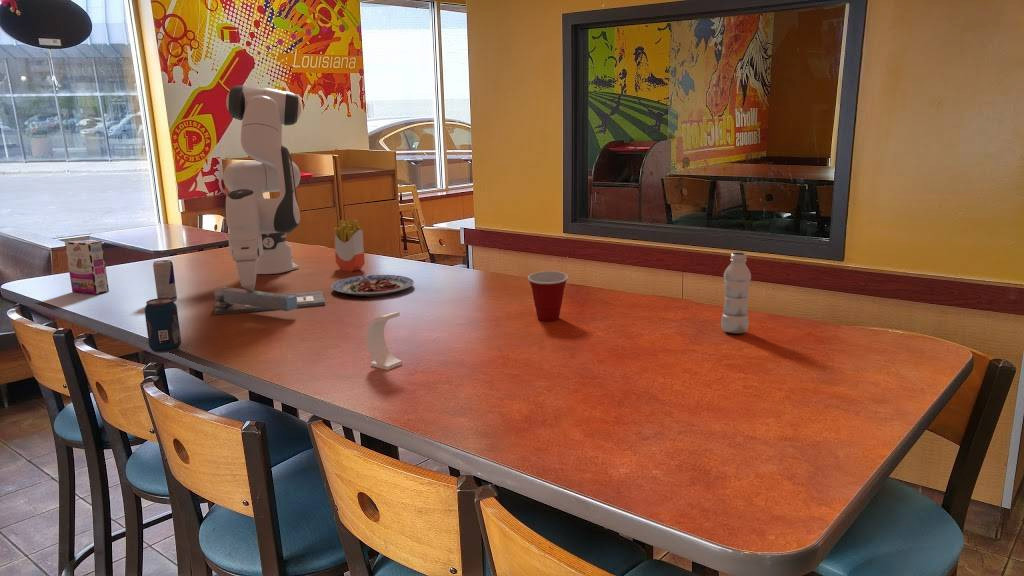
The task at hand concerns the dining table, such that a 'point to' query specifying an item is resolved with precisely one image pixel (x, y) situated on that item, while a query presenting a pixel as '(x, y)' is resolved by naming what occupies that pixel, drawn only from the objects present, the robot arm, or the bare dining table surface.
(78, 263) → the candy bar box
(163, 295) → the energy drink
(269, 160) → the robot arm
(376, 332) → the headphone stand
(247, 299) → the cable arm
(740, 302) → the plastic bottle
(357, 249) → the french fries container
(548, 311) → the plastic cup
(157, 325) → the soda can
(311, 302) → the double power outlet
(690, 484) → the dining table surface
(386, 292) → the ceramic plate
